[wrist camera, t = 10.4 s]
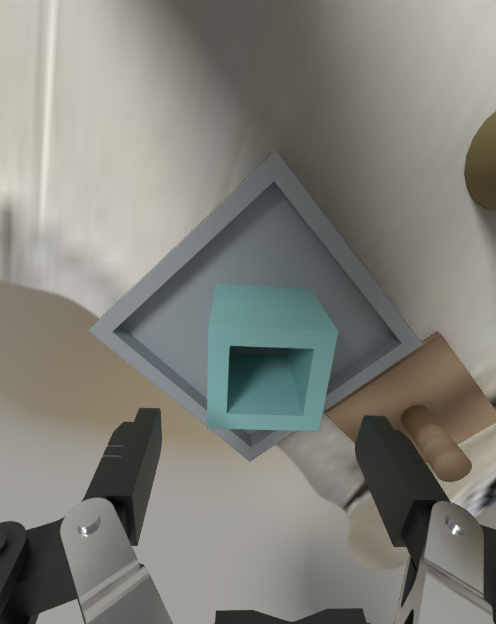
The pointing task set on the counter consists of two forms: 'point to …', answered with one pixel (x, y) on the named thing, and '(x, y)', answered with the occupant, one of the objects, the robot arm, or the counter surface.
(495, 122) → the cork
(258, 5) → the counter surface
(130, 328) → the tray
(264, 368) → the open box
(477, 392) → the square board with knob
